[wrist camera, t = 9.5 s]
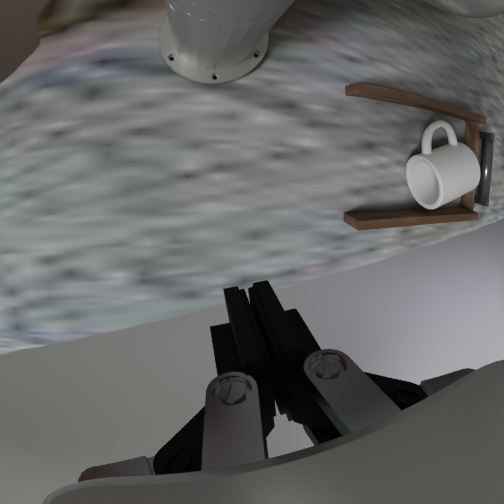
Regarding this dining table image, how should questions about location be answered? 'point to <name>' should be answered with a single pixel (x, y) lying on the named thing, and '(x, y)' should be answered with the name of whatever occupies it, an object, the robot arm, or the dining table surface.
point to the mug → (441, 169)
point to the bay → (471, 140)
